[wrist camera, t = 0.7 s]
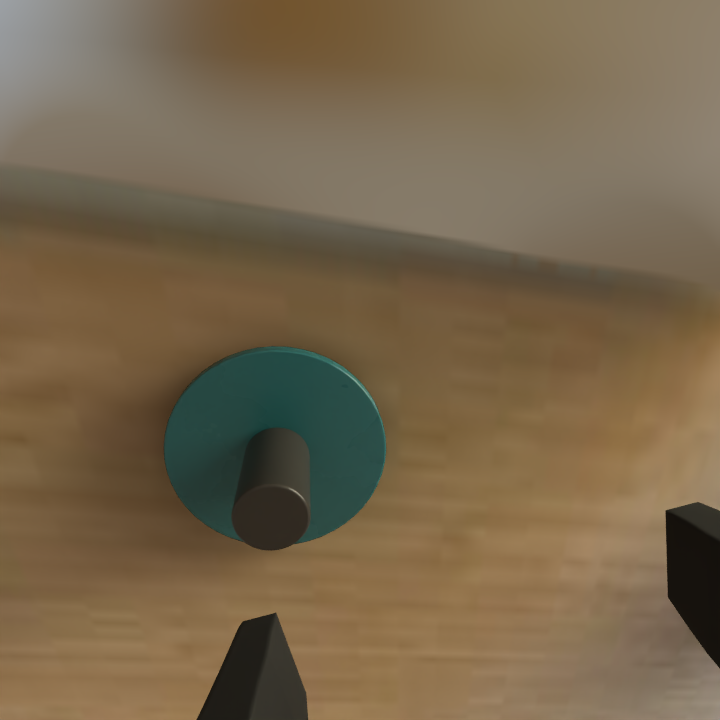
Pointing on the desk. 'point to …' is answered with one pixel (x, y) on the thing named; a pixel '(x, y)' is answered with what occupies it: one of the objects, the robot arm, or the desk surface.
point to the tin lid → (275, 446)
